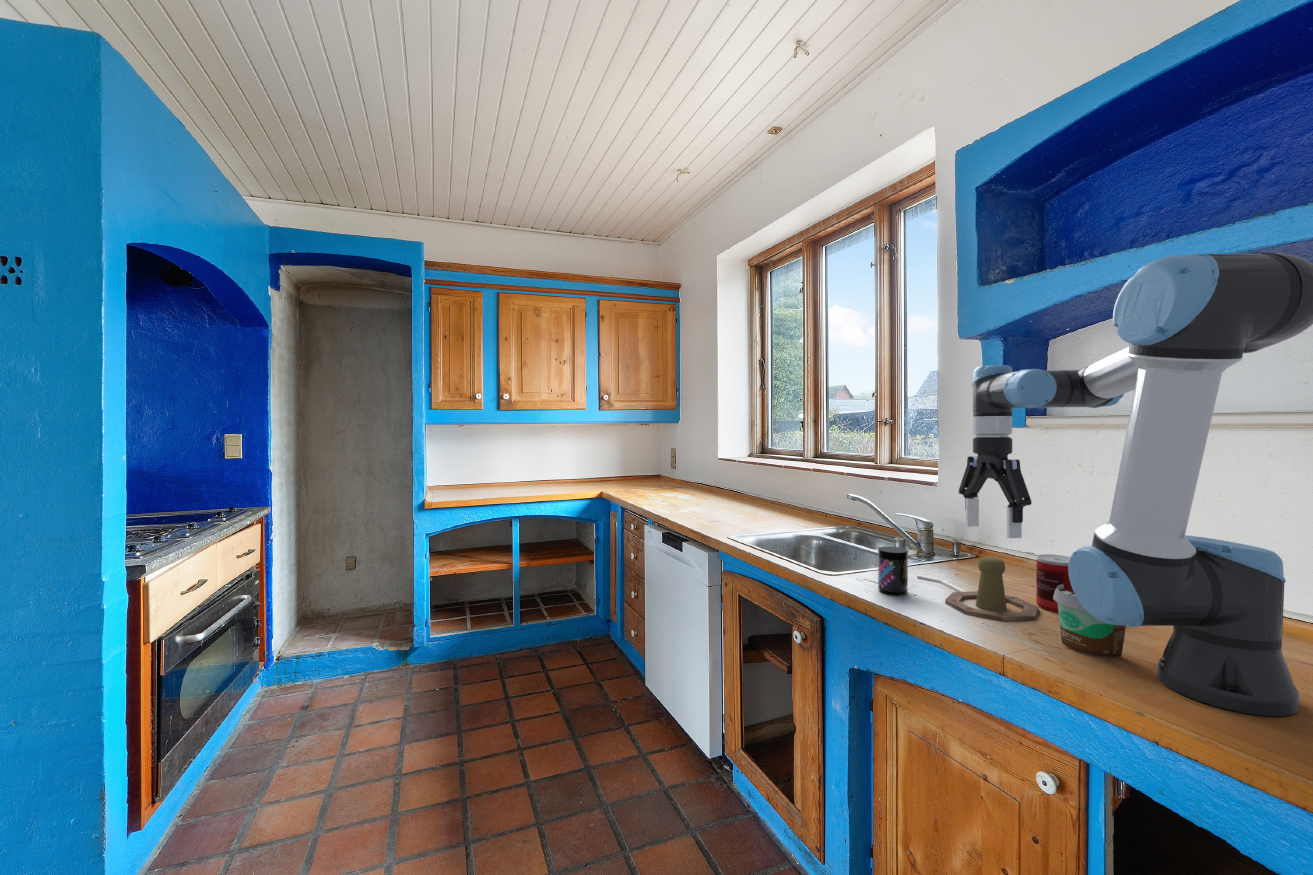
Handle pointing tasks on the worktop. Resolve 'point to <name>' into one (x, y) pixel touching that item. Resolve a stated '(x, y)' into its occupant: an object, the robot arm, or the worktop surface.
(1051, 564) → the canned food
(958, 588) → the lace cord
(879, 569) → the supplement container
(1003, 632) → the worktop surface
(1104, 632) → the food container
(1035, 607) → the ring
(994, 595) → the olive green pawn
